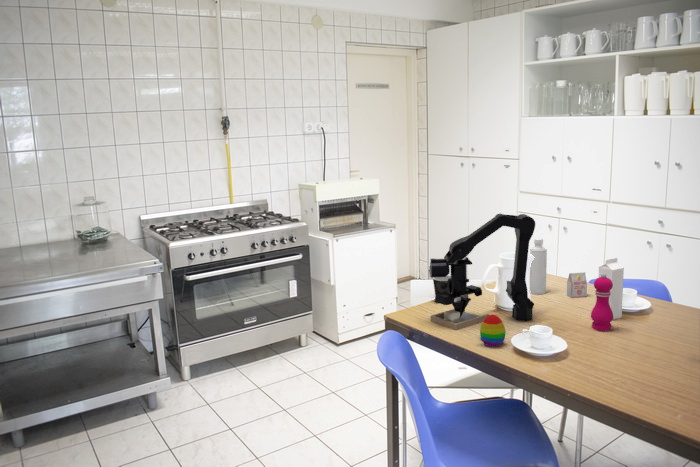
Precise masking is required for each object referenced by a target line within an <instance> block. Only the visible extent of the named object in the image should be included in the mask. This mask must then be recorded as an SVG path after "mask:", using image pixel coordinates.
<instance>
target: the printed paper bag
mask: <svg viewBox="0 0 700 467" xmlns="http://www.w3.org/2000/svg"><path fill="white" fill-rule="evenodd" d="M587 292H588V281H587V276H586V272H573V273H572V272H570V273H568V278H567V282H566V296H567V297H569V298H570V299H575V298H577V299H578V298H587V296H588V293H587Z"/></svg>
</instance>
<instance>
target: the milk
mask: <svg viewBox="0 0 700 467" xmlns="http://www.w3.org/2000/svg"><path fill="white" fill-rule="evenodd" d="M624 270H625V269H624V267H623V265H621V264H620V263H619V262H618V257H613V258H609V259H605V264H603V265H600V266H598V278H599V277H601V274H602V273H605V274H606V277H607V278H609V279H610V280H611V281H612V283H613V287H612V289H611V290H610V291H611V296H609V305H610V308H611V310H612V312H613V320H612V321H614V320H617V319H621V318H622V316H623V295H624V293H623V292H624V273H625V272H624Z"/></svg>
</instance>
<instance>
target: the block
mask: <svg viewBox="0 0 700 467" xmlns="http://www.w3.org/2000/svg"><path fill="white" fill-rule="evenodd" d="M445 311H446V312H445ZM445 311H443V312H444V320H447V321H450V322H453V323H460V312H458V311H455V310H452V309H449V310H445Z"/></svg>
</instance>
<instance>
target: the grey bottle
mask: <svg viewBox="0 0 700 467" xmlns="http://www.w3.org/2000/svg"><path fill="white" fill-rule="evenodd" d="M533 240H534V242H533V243H534V246H533V247H531V249H529V250H530V251H529V252H530V253H529V255H530V254H532V255H533V256H534V257H535V258H534V260H533V261H532V263H531V267H530V266H529V292H530V291H531V293H530V294H532V295H536V296H537V295H538V296H539V295H545V294H546V293H547V260H548V259H547V254H548V253H547V252H548V251H547V249H546V248H545V246H544V247H543V244H544V239H543V238H542V237H541V238H540V237H535V238H534V239H533Z"/></svg>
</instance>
